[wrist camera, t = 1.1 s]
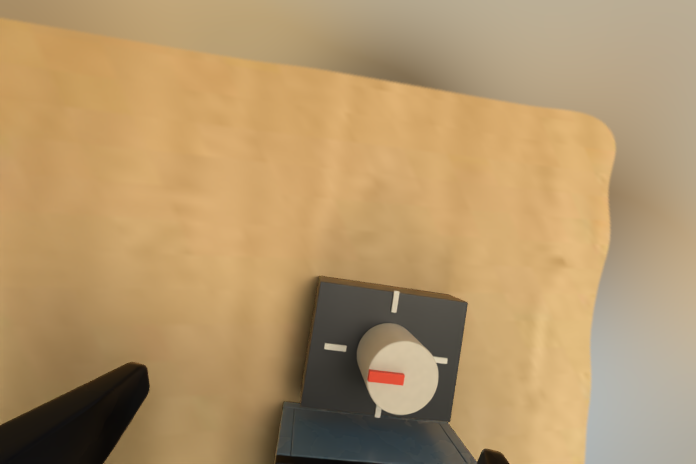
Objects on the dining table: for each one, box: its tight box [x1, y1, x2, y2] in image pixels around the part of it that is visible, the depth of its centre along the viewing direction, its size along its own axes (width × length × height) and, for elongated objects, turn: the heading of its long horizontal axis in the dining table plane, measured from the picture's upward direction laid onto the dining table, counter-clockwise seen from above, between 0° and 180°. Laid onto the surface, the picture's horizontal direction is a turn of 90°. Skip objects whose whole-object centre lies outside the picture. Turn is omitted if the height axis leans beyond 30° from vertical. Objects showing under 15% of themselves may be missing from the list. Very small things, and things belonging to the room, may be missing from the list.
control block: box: [300, 276, 468, 422], centre depth 23 cm, size 10×8×3 cm
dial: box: [357, 323, 439, 415], centre depth 20 cm, size 4×4×4 cm
